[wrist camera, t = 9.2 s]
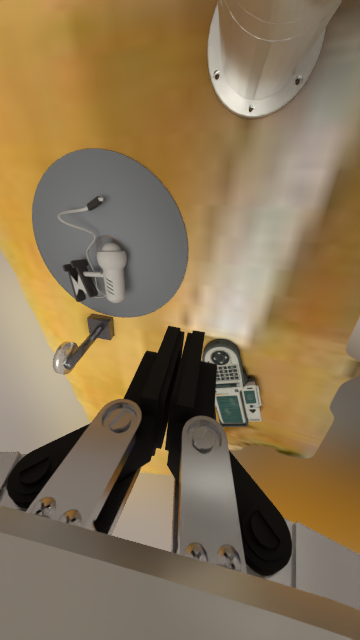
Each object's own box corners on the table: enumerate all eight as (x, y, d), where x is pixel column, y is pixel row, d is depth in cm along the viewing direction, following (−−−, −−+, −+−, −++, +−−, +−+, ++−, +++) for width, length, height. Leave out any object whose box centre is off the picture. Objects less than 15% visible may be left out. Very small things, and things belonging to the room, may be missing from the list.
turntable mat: (11, 140, 36) (10, 140, 36) (198, 158, 33) (198, 158, 33) (52, 305, 52) (52, 305, 52) (180, 327, 49) (180, 327, 49)
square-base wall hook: (91, 311, 51) (47, 355, 39) (112, 315, 51) (74, 360, 38) (94, 333, 54) (55, 379, 42) (114, 336, 54) (80, 384, 41)
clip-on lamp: (70, 202, 42) (84, 297, 48) (42, 196, 36) (62, 305, 42) (127, 199, 39) (135, 301, 45) (106, 192, 33) (118, 310, 39)
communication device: (249, 332, 47) (253, 360, 40) (262, 408, 58) (267, 441, 51) (194, 340, 51) (188, 367, 44) (216, 410, 62) (214, 441, 55)
